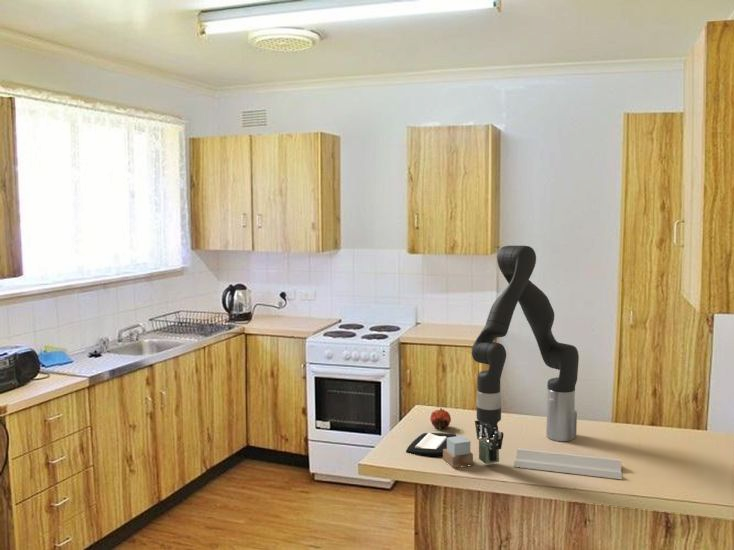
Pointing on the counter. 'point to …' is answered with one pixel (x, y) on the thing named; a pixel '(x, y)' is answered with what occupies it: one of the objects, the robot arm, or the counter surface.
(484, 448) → the tea tin
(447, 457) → the base block
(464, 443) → the mid block
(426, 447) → the black flat rectangular tray
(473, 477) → the counter surface
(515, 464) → the crown molding
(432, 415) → the pomegranate
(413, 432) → the counter surface
